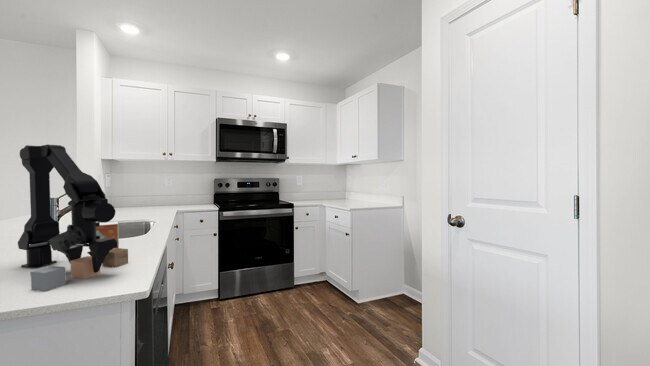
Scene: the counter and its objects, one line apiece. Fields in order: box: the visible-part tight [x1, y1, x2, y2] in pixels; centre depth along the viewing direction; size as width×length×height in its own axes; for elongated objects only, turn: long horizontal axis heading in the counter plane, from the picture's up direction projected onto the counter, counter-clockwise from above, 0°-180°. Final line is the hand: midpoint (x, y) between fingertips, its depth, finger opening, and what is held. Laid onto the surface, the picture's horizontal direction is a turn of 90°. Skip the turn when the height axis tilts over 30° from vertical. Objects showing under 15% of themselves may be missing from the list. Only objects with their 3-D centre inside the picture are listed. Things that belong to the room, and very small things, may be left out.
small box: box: [89, 221, 120, 256], centre depth 108 cm, size 8×6×13 cm
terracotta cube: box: [69, 255, 101, 279], centre depth 92 cm, size 5×5×5 cm
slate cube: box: [30, 265, 67, 293], centre depth 82 cm, size 5×5×5 cm
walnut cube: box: [102, 247, 129, 269], centre depth 102 cm, size 5×5×5 cm
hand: (85, 271), depth 92 cm, fingers open, 8 cm apart
